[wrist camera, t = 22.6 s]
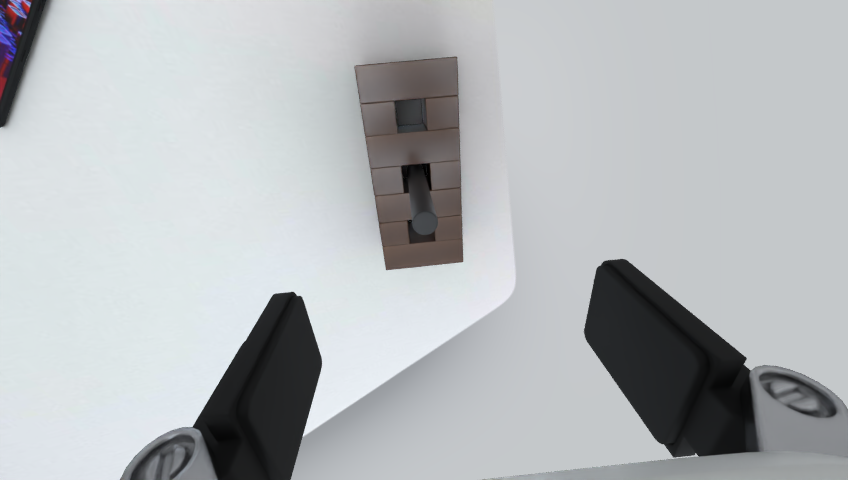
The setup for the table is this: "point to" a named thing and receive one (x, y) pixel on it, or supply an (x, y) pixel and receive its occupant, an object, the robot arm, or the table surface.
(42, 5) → the smartphone
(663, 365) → the robot arm
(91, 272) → the table surface
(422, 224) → the stylus
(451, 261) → the pen stand
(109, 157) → the table surface
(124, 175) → the table surface
